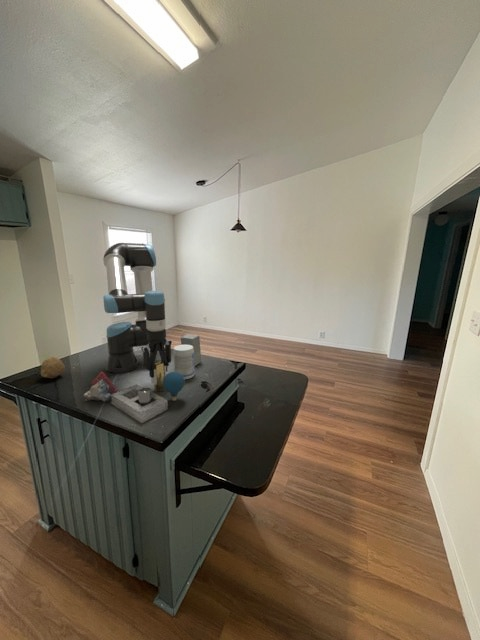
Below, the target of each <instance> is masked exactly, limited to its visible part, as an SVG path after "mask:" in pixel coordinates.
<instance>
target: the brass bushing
mask: <svg viewBox="0 0 480 640" xmlns="http://www.w3.org/2000/svg"><path fill="white" fill-rule="evenodd" d="M154 369H155V370H156V377H157V384H156V385H155V384H153V386H154V387H153V390H154V392H162V391H165V389H164V387H163V379H164V362H162V361H161V360H155V368H154Z"/></svg>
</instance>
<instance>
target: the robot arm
mask: <svg viewBox="0 0 480 640" xmlns="http://www.w3.org/2000/svg"><path fill="white" fill-rule="evenodd" d="M102 260H103V265H104V266H105V268H106V280H107V291H108V293H107V294H105V295H103V307H104V308H103V309H104V312H105V313H106V314H122V313H135V312H137V318H136V320H135V324H132V322H130V321H122V322H116V323H112V324H111V325H108V327H107V328H106V339H107V341H106V342H107V353H108V356H107V360H106V364H105V371H106V372H108V371H109V372H108V373H110V372H113V373H112V374H122V373H128V372H131V371H133V370H135V369H137V368H138V366H139V361H138V359H137V356H136V354H135V351H134V348H135V347H138V348H139V347H141V352H142V355H143V356H142V357H143V358H142V359H143V368H144V370H146V371H148V374H149V378H150V380H151V384H153V385H154V384H155V385H156V384H157V377H156V370H155V369H154V368H155V362H156V361H157V359H156V358H157V355H158V353H159V357H160V361H162V362H164V377H165V376H166V375H167V372H168V366H169V365H170V364H171V362H172V343H173V341H172V340H169V339H167V338H166V337H167V329H166V327H167V326H166V324H167V323H166V310H165V309H166V305H165V302H166V299H165V293H164V291H162V290H161V291H160V290H154V289H153V288H154V287H153V278H152V272H153V271H154V269H155V267H156V266H157V256H156V252H155V249H154V247H153V245H151V244H150V243H149V244H148V243H134V242H133V243H131V242H118V243H115V244H113V245H111V246H109V248H108V249H107V250H106V251H105V253H104V255H103V259H102ZM125 267H130V271H132V272H133V275H134V286H135V287H134V288H135V293H133V294H132V293H130V294H128V293H129V292H128V287H127V281H126V273H125Z"/></svg>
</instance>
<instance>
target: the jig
mask: <svg viewBox="0 0 480 640" xmlns="http://www.w3.org/2000/svg"><path fill="white" fill-rule="evenodd" d="M110 401H111V404H112V405H113V406H115V407H116V408H117V409H119V410H120V411H122V412H124V413H125V414H127V415H128V416H130V417H131V418H133V419H135V420H136V421H138V422H139V423H141V424H143V423H145V422H147V421H149V420H151V419H153V418H155V417H157V416H158V415H161V414H162V413H163V412H165V411H167V410H169V409H168V405H169V404H168V399H166V398H164V397H162V396H160V395H159V394H157V393H155V392H152V390H151V388H149V387H143V386H140V385H139V384H134V385H131V386H129V387H127V388H124V389H121V390H118V391H117V392H116V393H114V394H111V400H110Z"/></svg>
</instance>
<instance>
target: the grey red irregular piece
mask: <svg viewBox="0 0 480 640" xmlns="http://www.w3.org/2000/svg"><path fill="white" fill-rule="evenodd" d="M116 392H119V389H118V388H117V386H116V384H115V382H112V381H111V380H110V379H109V377H108V376H107V375H106V373H105V372H103V371H100V373H99V374H98V375H97V376H96V377H95V378H94V379H93V380H92V382H91V387H90V389H89V390H88V391H86V392H85V393H83V397H85V398H87V399H88V398H89V399H90V400H92V401H99V400H102V401H101V402H105V401H107V402H110V401H111V400H110V399H111V394H114V393H116Z"/></svg>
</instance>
